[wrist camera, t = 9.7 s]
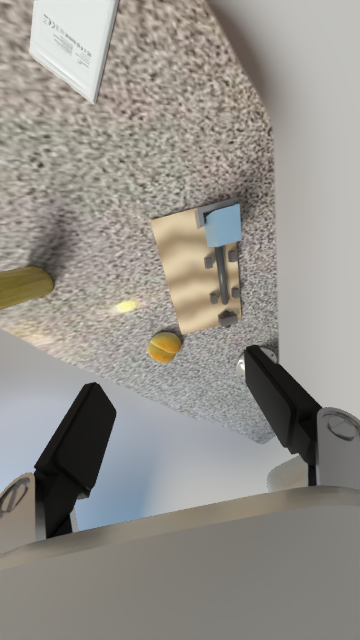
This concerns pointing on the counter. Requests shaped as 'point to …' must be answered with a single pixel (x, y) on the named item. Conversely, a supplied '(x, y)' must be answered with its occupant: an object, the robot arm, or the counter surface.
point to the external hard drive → (73, 40)
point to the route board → (196, 273)
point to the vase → (23, 285)
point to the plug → (223, 239)
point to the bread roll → (164, 347)
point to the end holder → (211, 208)
